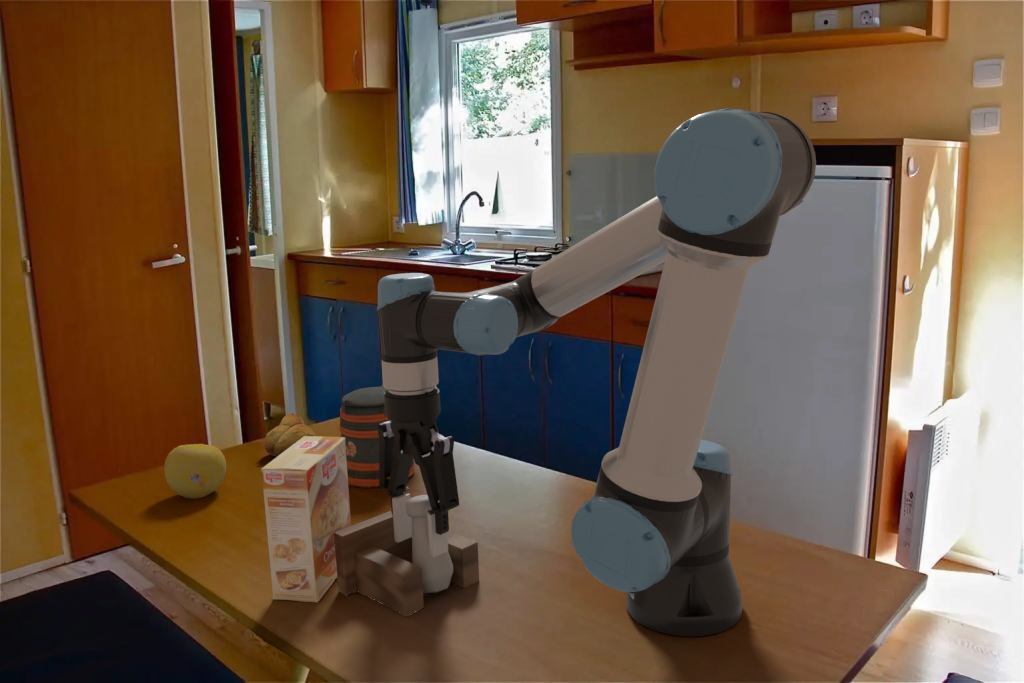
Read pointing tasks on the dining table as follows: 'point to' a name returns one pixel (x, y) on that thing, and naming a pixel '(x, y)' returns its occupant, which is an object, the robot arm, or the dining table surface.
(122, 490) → the dining table surface
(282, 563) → the coffeecake box
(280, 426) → the bread roll
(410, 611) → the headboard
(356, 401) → the beer stein
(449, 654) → the dining table surface
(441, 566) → the salt shaker
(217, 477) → the fruit
